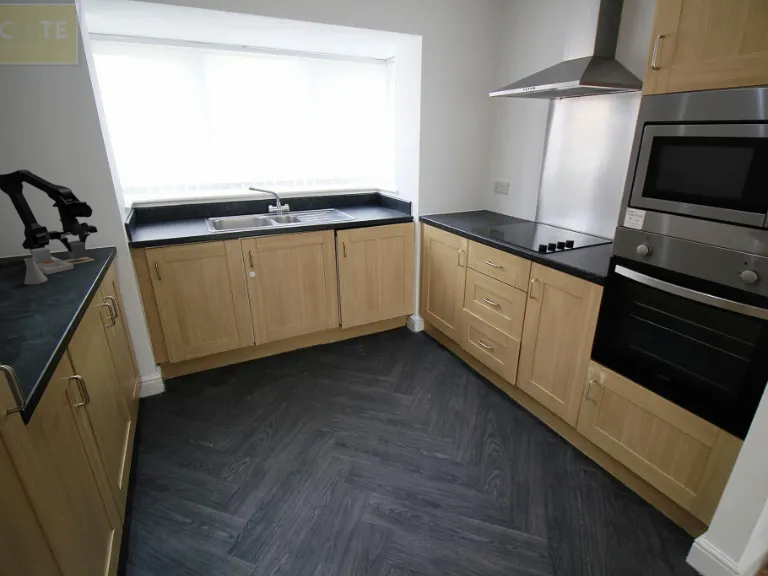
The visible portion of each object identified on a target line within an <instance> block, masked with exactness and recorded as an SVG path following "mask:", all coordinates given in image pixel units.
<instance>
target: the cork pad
mask: <svg viewBox="0 0 768 576" xmlns="http://www.w3.org/2000/svg"><path fill="white" fill-rule="evenodd" d="M95 260H96V259H94V258H91V257H89V256H87V257H84V258H79V259H73V258H70V259H65V260H64V261H66V262H69V263H71V264H73V265H76V264H77V265H78V264H81V263H87V262H91V261H95Z"/></svg>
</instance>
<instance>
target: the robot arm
mask: <svg viewBox="0 0 768 576" xmlns="http://www.w3.org/2000/svg"><path fill="white" fill-rule="evenodd" d="M23 183H26V184H28V185H30V186H32V187H33V188H36V189H38V190H40V191H42V192H43V193H46V195H47V196H48V198H50V199H51V200H53V202H54V203H53V204H52V206H51V207H53V208H57V212H58V214H59V221H60V222H61V226H62V228H61V230H62V231H57V230H51V231H48V228H47V226H45V225H43V226H42V225H41V224H39V222H38V221H37V218H36V217H35V215H34V213H33V211H32V209H31V207H30V204H29V203H28V202H27V201H28V200H26V197H25V195H24V193H23V190H24V184H23ZM0 190H1V191H2V192H3V193H4V194H6V195H7V196H8V198H9V199H10V201H11V203H12V205H13V207H14V208H15V210H16V213H17V214H18V216H19V218H20V220H21V223H22V224H23V225H24V230H23V235H24V237H25V239H24V241H23V243H22V244H21V246H22V248H23V249H24V250H29V252H30V255H31V258H33V257H32V254H31V251H30V250H33V249H38V248H46V246H50V240H51V241H53V240H54V241H55V240H57V241H60V243H62V246H64V247H65V248H66V249H67V252H68V251H69V252H71V249H70V246H69V243H68V242H69V241H68V240H69V239H68V237H66V236H73V237H74V236H78V240H79V241H82V242H84V245H85V246H86V241H87V239H88V237H89V236H91V234H95V233H98V232H99V231H98V228H97V227H96V226H95V225H92V224H90V225H89V224H88V222H81V223H80V222H79V220H78V218H90V217H92V215H93V208H92V207H91V206H90V204H88V203H87V201H81V200H80V199H79V197H77V196H76V195H75V193H74V192H73V190H72V189H71V188H69V187H67V186H63V185H59V184H55V183H52V182H50V181H49V180H46V179H44V178H42V177H40V176H38V175H37V174H35V173H33V172H31V171H30V170H29V169H18V170H17V169H16V171H13V172H8V173H3V174H2V173H1V174H0Z"/></svg>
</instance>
